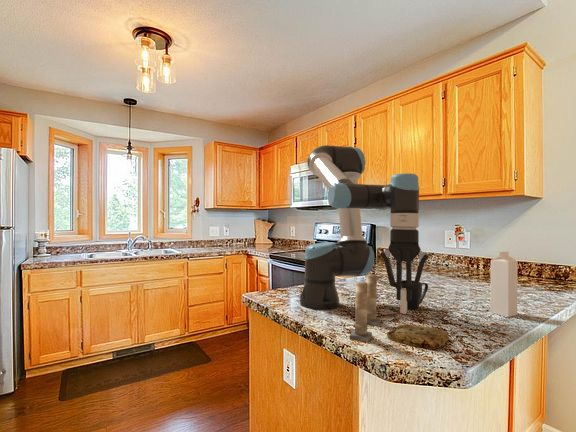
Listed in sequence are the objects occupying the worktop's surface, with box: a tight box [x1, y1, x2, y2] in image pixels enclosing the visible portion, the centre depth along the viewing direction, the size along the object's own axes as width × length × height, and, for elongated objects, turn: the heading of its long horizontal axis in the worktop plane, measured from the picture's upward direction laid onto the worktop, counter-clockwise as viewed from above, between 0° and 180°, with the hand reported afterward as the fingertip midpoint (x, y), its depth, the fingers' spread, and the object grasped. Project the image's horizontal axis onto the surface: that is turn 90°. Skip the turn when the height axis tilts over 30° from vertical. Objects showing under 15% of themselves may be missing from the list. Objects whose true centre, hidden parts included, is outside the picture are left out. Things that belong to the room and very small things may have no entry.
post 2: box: [365, 273, 381, 327], centre depth 98 cm, size 5×5×15 cm
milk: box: [489, 251, 519, 318], centre depth 110 cm, size 6×6×22 cm
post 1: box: [349, 281, 373, 343], centre depth 86 cm, size 5×5×15 cm
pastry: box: [386, 323, 450, 350], centre depth 86 cm, size 17×17×3 cm
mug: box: [399, 279, 429, 311], centre depth 117 cm, size 8×12×10 cm
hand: (403, 312), depth 87 cm, fingers closed
